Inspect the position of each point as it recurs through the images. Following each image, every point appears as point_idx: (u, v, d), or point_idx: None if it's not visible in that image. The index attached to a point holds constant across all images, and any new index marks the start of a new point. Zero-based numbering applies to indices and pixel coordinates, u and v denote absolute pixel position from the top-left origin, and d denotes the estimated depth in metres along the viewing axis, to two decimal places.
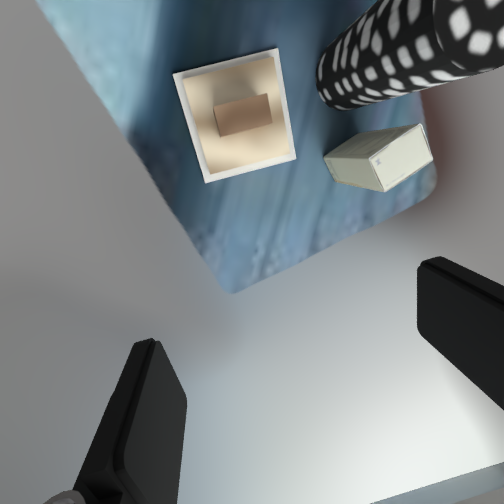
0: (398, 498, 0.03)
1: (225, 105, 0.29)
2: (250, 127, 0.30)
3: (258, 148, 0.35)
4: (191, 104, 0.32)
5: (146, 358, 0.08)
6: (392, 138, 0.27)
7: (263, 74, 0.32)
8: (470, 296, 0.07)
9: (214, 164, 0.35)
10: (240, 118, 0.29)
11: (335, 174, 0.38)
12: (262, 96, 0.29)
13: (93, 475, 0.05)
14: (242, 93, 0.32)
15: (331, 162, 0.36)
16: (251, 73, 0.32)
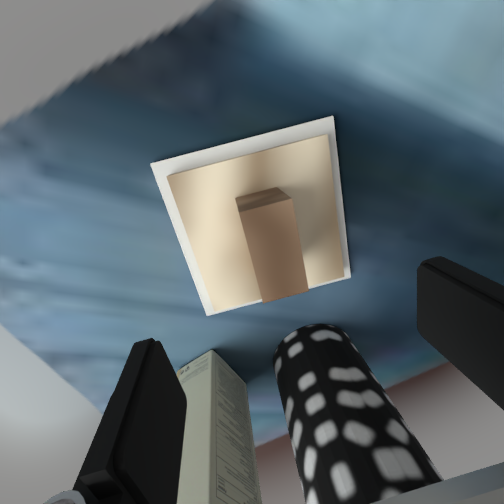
0: (398, 498, 0.03)
1: (293, 221, 0.15)
2: (255, 267, 0.16)
3: (219, 263, 0.20)
4: (289, 147, 0.18)
5: (146, 358, 0.08)
6: None
7: (324, 265, 0.21)
8: (470, 296, 0.07)
9: (186, 185, 0.18)
10: (270, 249, 0.15)
11: (187, 374, 0.24)
12: (304, 284, 0.17)
13: (93, 475, 0.05)
14: (301, 235, 0.20)
15: (204, 371, 0.23)
16: (327, 247, 0.21)
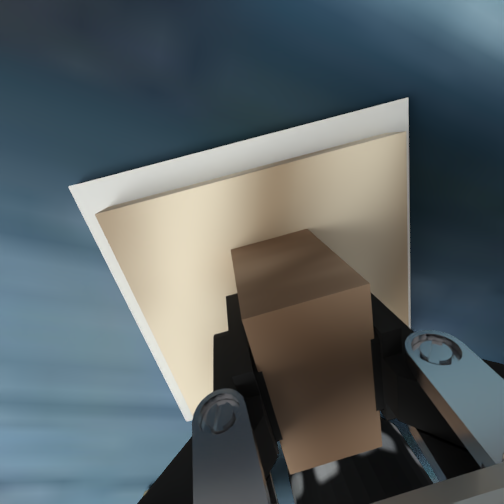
0: (398, 498, 0.03)
1: (366, 331, 0.07)
2: (277, 419, 0.07)
3: (205, 356, 0.12)
4: (333, 156, 0.09)
5: None
6: None
7: None
8: None
9: (137, 230, 0.09)
10: (312, 386, 0.07)
11: None
12: (374, 437, 0.08)
13: (241, 377, 0.06)
14: None
15: None
16: None
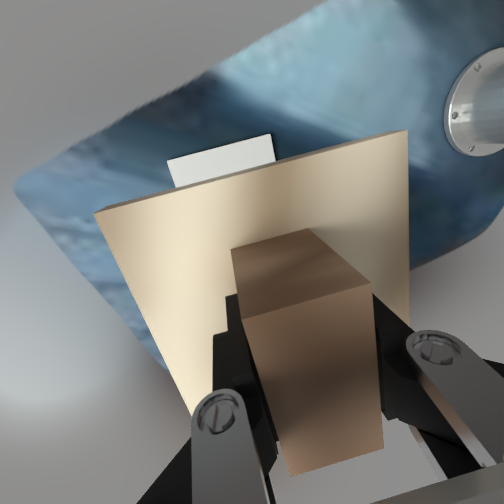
0: (398, 498, 0.03)
1: (367, 331, 0.06)
2: (277, 421, 0.07)
3: (204, 357, 0.12)
4: (334, 155, 0.09)
5: None
6: None
7: None
8: None
9: (136, 230, 0.09)
10: (313, 386, 0.07)
11: None
12: (376, 438, 0.08)
13: (240, 377, 0.06)
14: None
15: None
16: None
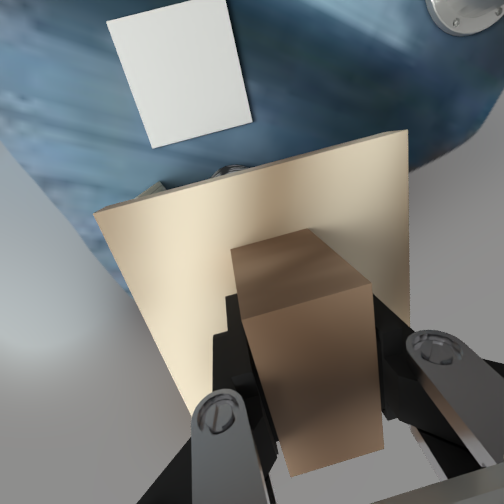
0: (398, 498, 0.03)
1: (368, 331, 0.06)
2: (278, 421, 0.07)
3: (204, 357, 0.12)
4: (334, 155, 0.09)
5: None
6: None
7: None
8: None
9: (136, 230, 0.09)
10: (313, 387, 0.07)
11: None
12: (376, 439, 0.08)
13: (240, 377, 0.06)
14: None
15: None
16: None
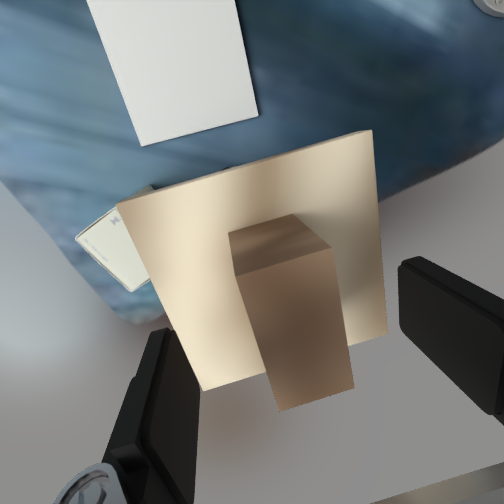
0: (398, 498, 0.03)
1: (332, 286, 0.08)
2: (266, 361, 0.09)
3: (208, 327, 0.14)
4: (311, 152, 0.11)
5: (163, 345, 0.08)
6: None
7: (360, 320, 0.15)
8: (443, 294, 0.07)
9: (150, 217, 0.11)
10: (293, 332, 0.09)
11: None
12: (347, 379, 0.10)
13: (122, 449, 0.05)
14: None
15: None
16: (365, 296, 0.14)
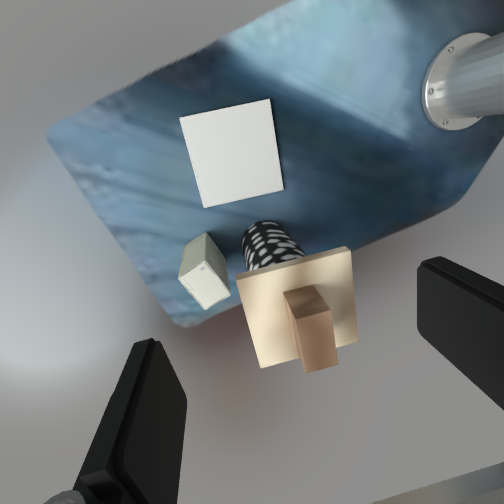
0: (398, 498, 0.03)
1: (330, 323, 0.22)
2: (303, 351, 0.23)
3: (267, 335, 0.27)
4: (323, 259, 0.25)
5: (146, 358, 0.08)
6: (220, 277, 0.35)
7: (344, 334, 0.28)
8: (470, 296, 0.07)
9: (249, 285, 0.25)
10: (314, 340, 0.23)
11: (191, 243, 0.43)
12: (335, 360, 0.24)
13: (93, 475, 0.05)
14: None
15: (201, 238, 0.42)
16: (346, 322, 0.28)
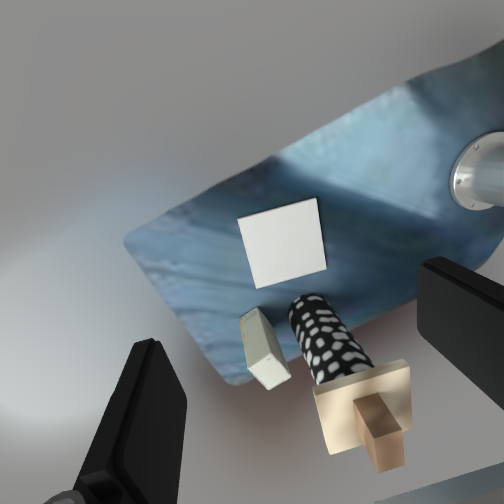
0: (398, 498, 0.03)
1: (401, 438, 0.27)
2: (377, 459, 0.28)
3: (338, 431, 0.32)
4: (387, 374, 0.30)
5: (146, 358, 0.08)
6: (281, 362, 0.40)
7: (400, 424, 0.33)
8: (470, 296, 0.07)
9: (326, 398, 0.30)
10: (387, 450, 0.28)
11: (245, 319, 0.48)
12: (402, 462, 0.29)
13: (93, 475, 0.05)
14: None
15: (255, 315, 0.47)
16: (403, 416, 0.33)
